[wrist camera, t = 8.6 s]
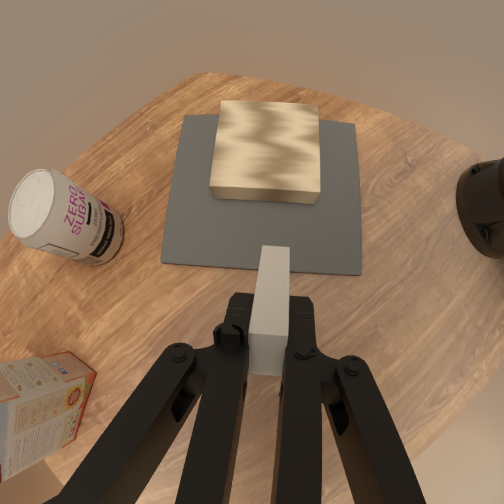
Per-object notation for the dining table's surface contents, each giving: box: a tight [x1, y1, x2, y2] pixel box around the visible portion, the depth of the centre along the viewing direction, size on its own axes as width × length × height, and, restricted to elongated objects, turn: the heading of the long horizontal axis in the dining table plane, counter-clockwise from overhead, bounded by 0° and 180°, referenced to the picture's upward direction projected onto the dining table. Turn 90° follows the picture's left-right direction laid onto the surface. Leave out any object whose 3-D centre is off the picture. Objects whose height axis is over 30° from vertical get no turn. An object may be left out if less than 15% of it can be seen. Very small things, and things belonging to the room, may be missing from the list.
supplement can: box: [8, 169, 123, 265], centre depth 29 cm, size 8×8×15 cm
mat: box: [161, 114, 362, 276], centre depth 36 cm, size 24×21×1 cm
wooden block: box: [209, 101, 320, 204], centre depth 34 cm, size 12×4×12 cm
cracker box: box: [0, 352, 96, 483], centre depth 23 cm, size 14×6×21 cm, turn 154°
